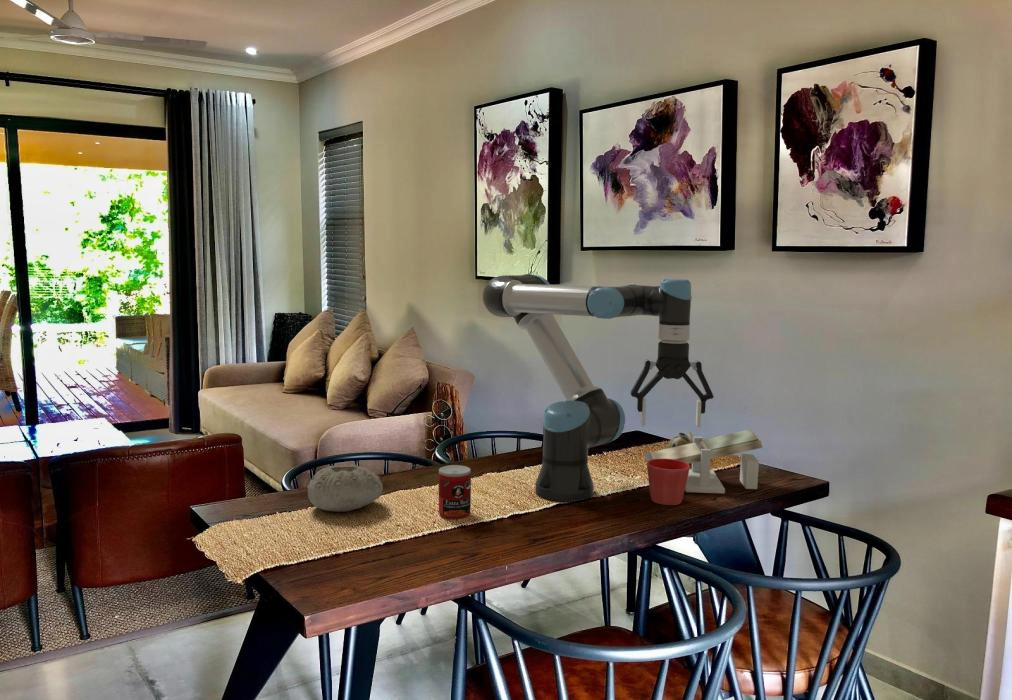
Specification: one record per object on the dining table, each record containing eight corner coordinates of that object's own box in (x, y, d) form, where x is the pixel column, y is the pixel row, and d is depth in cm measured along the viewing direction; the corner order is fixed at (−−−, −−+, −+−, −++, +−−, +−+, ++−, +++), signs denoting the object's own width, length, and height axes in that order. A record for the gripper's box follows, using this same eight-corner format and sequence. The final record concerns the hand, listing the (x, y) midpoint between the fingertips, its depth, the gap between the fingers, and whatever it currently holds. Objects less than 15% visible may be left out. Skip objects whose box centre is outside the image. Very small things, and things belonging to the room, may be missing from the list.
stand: (686, 491, 214) (688, 450, 213) (677, 472, 232) (678, 434, 231) (761, 494, 213) (764, 453, 211) (746, 475, 231) (749, 437, 229)
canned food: (441, 520, 189) (442, 475, 188) (435, 510, 197) (435, 465, 195) (473, 518, 191) (474, 473, 190) (466, 507, 199) (466, 464, 197)
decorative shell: (329, 493, 209) (328, 455, 208) (394, 499, 204) (393, 460, 203) (294, 515, 192) (293, 473, 190) (363, 522, 187) (363, 480, 186)
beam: (650, 472, 218) (648, 463, 217) (646, 461, 229) (644, 452, 229) (762, 448, 214) (760, 439, 214) (752, 437, 226) (750, 428, 226)
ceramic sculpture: (706, 429, 248) (687, 441, 236) (706, 456, 250) (687, 470, 238) (674, 425, 254) (653, 436, 242) (674, 451, 256) (653, 464, 244)
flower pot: (685, 495, 212) (686, 458, 211) (690, 508, 201) (692, 470, 200) (644, 493, 213) (645, 457, 212) (647, 506, 202) (648, 468, 201)
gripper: (624, 342, 199) (621, 427, 202) (727, 344, 197) (723, 430, 200) (622, 338, 206) (619, 420, 209) (722, 340, 204) (718, 423, 207)
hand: (670, 425), depth 204 cm, fingers open, 13 cm apart
